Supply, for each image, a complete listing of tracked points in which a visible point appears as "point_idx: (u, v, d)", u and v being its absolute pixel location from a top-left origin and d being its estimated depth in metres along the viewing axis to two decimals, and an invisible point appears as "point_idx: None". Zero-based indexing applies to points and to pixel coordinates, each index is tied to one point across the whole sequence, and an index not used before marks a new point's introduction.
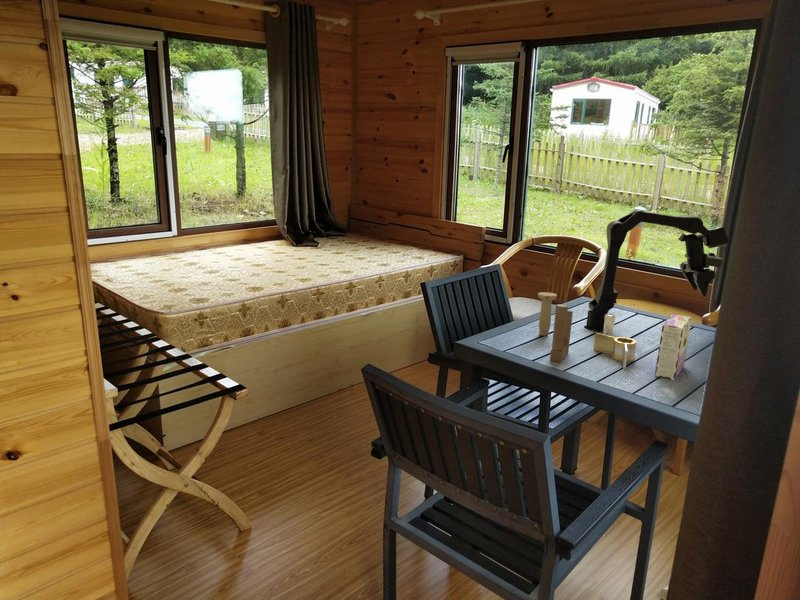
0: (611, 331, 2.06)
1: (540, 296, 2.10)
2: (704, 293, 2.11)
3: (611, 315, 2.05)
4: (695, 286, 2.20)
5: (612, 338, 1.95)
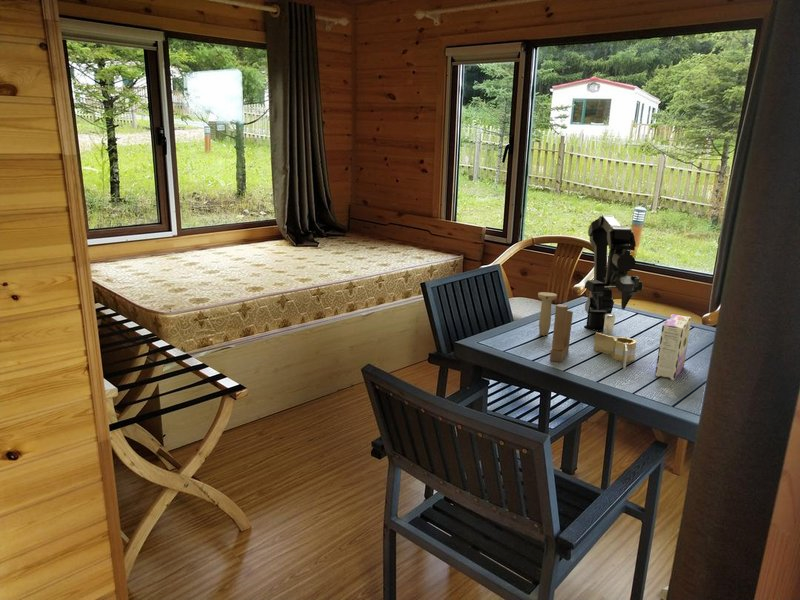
0: (611, 331, 2.06)
1: (540, 296, 2.10)
2: (597, 307, 2.04)
3: (611, 315, 2.05)
4: (623, 305, 2.06)
5: (612, 338, 1.95)
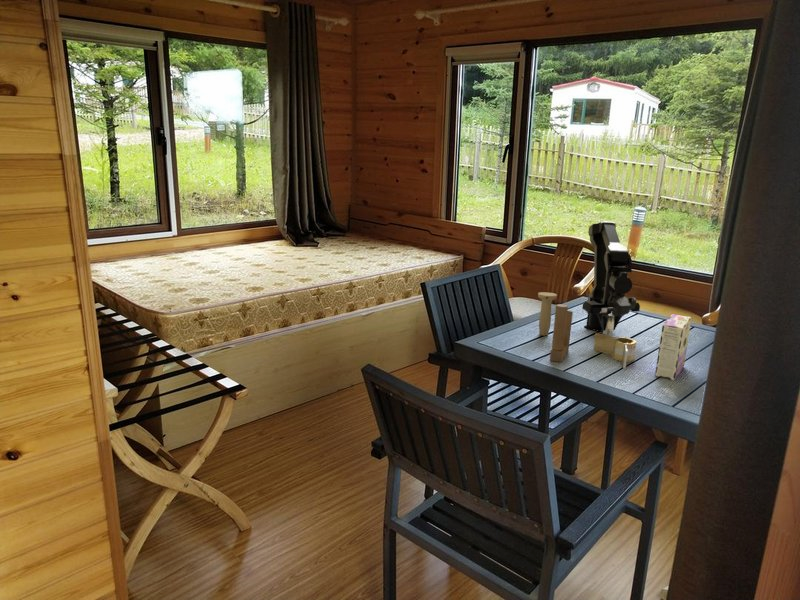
0: (611, 331, 2.06)
1: (540, 296, 2.10)
2: (602, 327, 2.06)
3: (611, 315, 2.05)
4: None
5: (612, 338, 1.95)
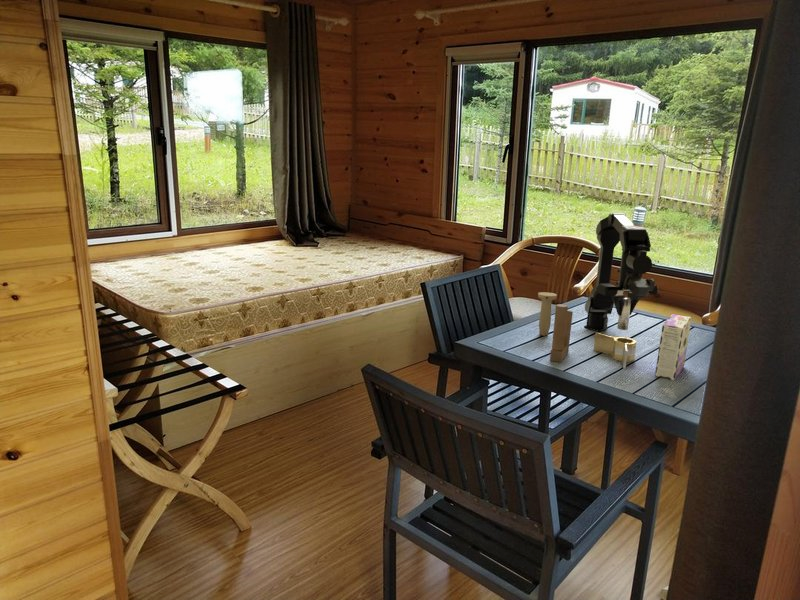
0: (627, 316, 1.92)
1: (540, 296, 2.10)
2: (618, 312, 1.93)
3: (627, 298, 1.92)
4: None
5: (612, 338, 1.95)
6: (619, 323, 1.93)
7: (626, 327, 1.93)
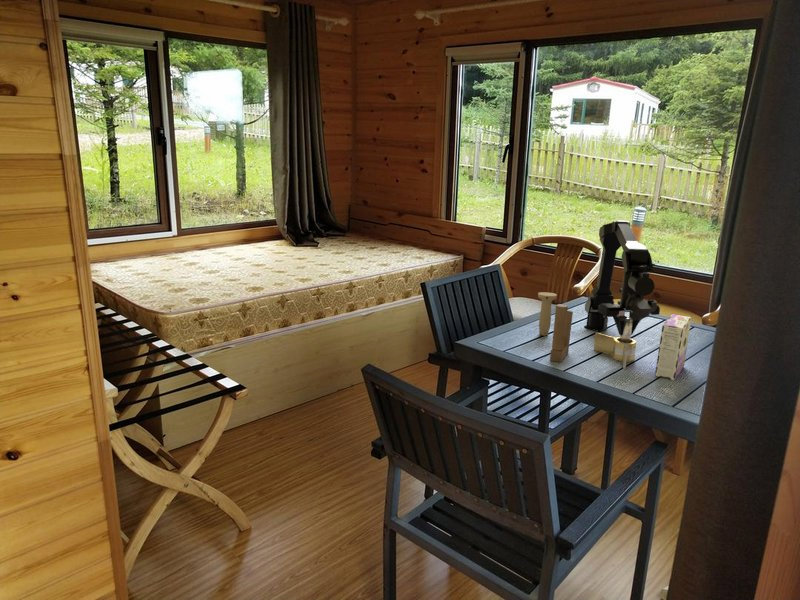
0: (629, 336, 1.91)
1: (540, 296, 2.10)
2: (619, 332, 1.91)
3: (629, 318, 1.90)
4: None
5: (612, 338, 1.95)
6: None
7: None
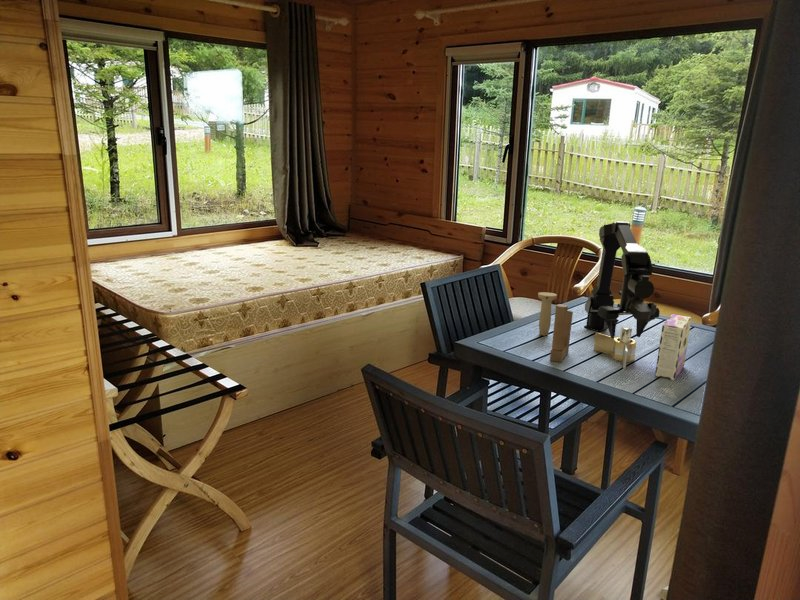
0: None
1: (540, 296, 2.10)
2: (611, 335, 1.91)
3: (627, 329, 1.91)
4: (638, 332, 1.93)
5: None
6: None
7: None
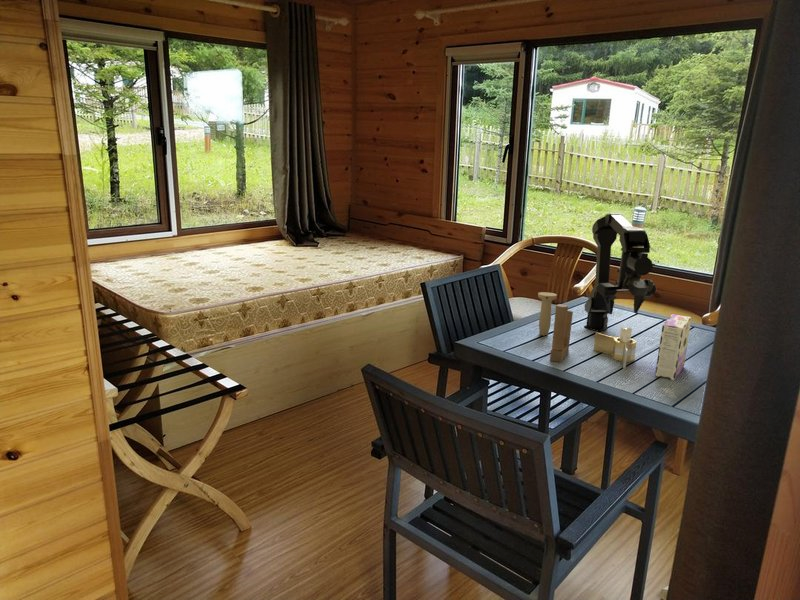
0: None
1: (540, 296, 2.10)
2: (609, 311, 1.98)
3: (627, 329, 1.91)
4: (635, 309, 2.00)
5: (612, 338, 1.95)
6: None
7: None
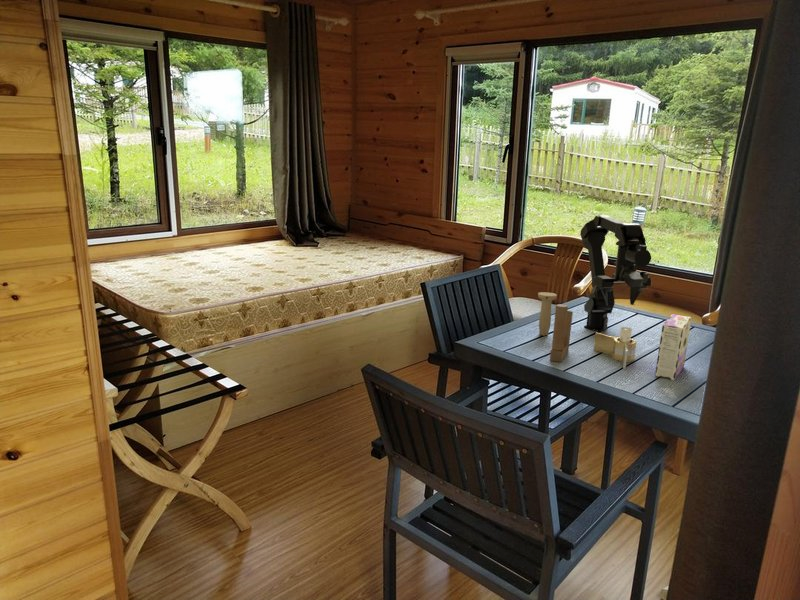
0: None
1: (540, 296, 2.10)
2: (607, 302, 2.05)
3: (627, 329, 1.91)
4: (631, 301, 2.07)
5: (612, 338, 1.95)
6: None
7: None
